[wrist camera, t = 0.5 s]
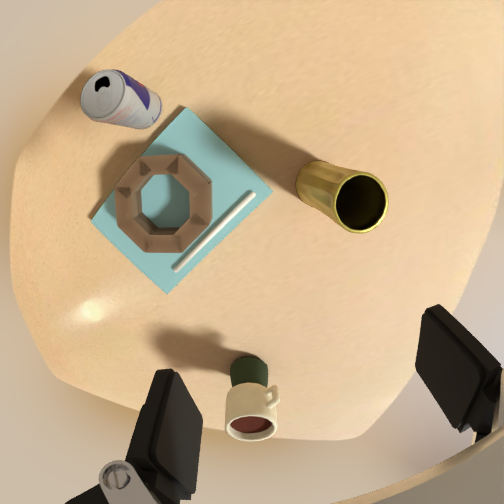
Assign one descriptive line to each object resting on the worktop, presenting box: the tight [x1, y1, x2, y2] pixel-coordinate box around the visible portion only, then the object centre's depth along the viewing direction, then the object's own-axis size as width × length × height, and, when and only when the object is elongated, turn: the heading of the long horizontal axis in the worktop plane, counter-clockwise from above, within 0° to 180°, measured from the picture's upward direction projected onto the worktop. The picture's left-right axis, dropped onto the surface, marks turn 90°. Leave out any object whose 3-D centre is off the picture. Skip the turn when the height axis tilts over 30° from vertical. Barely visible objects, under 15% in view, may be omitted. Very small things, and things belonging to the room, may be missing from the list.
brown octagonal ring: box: [114, 154, 213, 253], centre depth 33 cm, size 11×11×4 cm
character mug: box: [225, 357, 280, 441], centre depth 39 cm, size 11×7×13 cm, turn 137°
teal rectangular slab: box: [91, 107, 273, 294], centre depth 35 cm, size 20×15×2 cm
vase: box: [296, 161, 388, 233], centre depth 29 cm, size 6×6×14 cm
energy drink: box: [80, 70, 162, 129], centre depth 26 cm, size 5×5×12 cm
